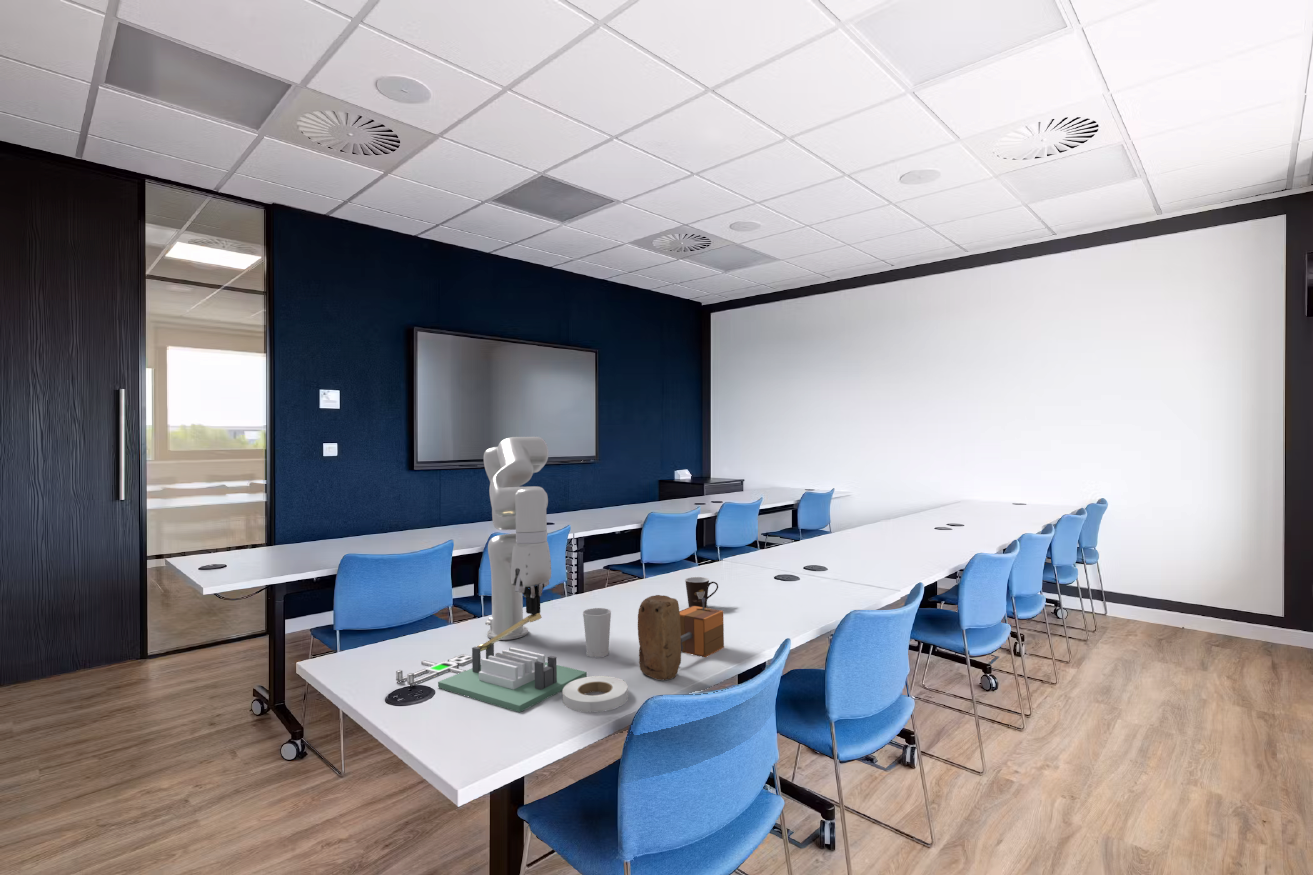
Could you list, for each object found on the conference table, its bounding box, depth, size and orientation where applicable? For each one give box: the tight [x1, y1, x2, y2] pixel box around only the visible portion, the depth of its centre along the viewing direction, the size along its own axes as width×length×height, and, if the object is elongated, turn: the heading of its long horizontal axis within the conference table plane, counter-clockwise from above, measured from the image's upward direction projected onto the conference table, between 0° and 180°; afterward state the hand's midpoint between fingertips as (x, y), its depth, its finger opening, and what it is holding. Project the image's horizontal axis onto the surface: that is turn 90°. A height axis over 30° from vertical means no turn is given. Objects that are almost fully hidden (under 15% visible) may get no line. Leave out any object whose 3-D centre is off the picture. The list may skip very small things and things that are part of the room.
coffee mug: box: [684, 576, 719, 608], centre depth 230 cm, size 12×9×10 cm
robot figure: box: [395, 653, 472, 687], centre depth 171 cm, size 16×3×22 cm
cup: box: [582, 607, 612, 659], centre depth 182 cm, size 8×8×12 cm
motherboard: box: [437, 643, 588, 713], centre depth 161 cm, size 28×24×8 cm
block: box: [637, 594, 682, 681], centre depth 165 cm, size 11×8×20 cm
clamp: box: [679, 598, 725, 658], centre depth 181 cm, size 11×20×14 cm, turn 144°
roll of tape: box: [562, 675, 629, 713], centre depth 151 cm, size 16×15×3 cm
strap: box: [476, 612, 542, 653], centre depth 162 cm, size 23×3×2 cm
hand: (533, 612), depth 157 cm, fingers closed
